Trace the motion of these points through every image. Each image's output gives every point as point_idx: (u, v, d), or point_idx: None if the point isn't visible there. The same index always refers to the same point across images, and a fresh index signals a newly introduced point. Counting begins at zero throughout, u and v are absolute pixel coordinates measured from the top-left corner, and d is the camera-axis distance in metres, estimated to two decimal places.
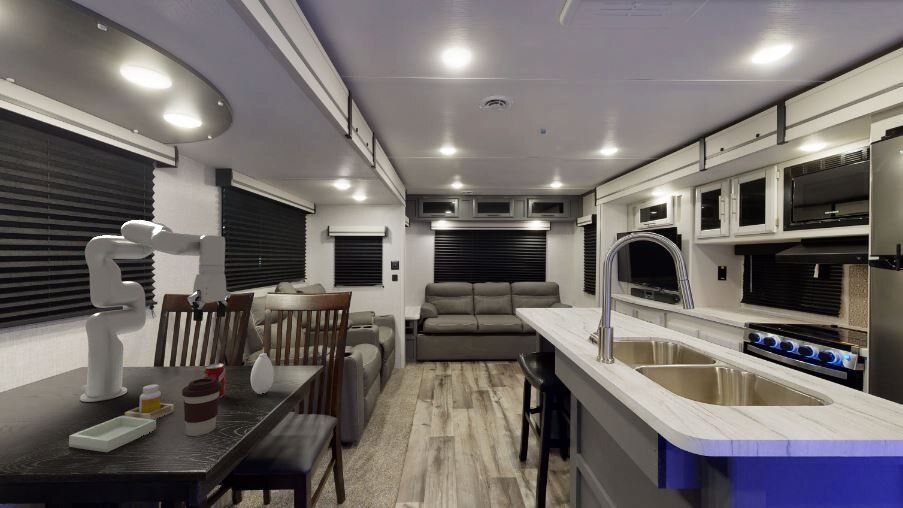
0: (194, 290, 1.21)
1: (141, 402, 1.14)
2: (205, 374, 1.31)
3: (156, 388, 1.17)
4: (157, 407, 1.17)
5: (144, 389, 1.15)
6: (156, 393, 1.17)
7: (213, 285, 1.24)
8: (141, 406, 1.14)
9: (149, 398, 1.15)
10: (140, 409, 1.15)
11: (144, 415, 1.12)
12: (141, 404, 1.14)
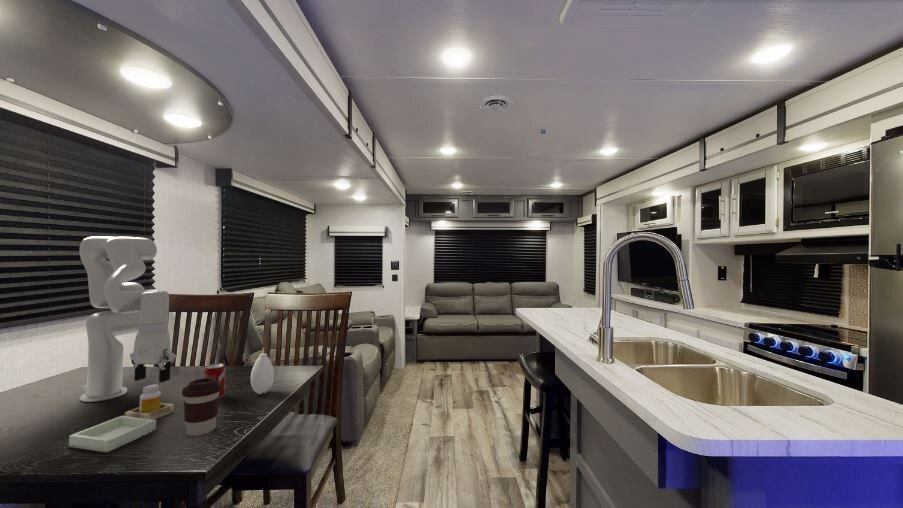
0: (160, 350, 1.15)
1: (141, 402, 1.14)
2: (205, 374, 1.31)
3: (156, 388, 1.17)
4: (157, 407, 1.17)
5: (144, 389, 1.15)
6: (156, 393, 1.17)
7: None
8: (141, 406, 1.14)
9: (149, 398, 1.15)
10: (140, 409, 1.15)
11: (144, 415, 1.12)
12: (141, 404, 1.14)
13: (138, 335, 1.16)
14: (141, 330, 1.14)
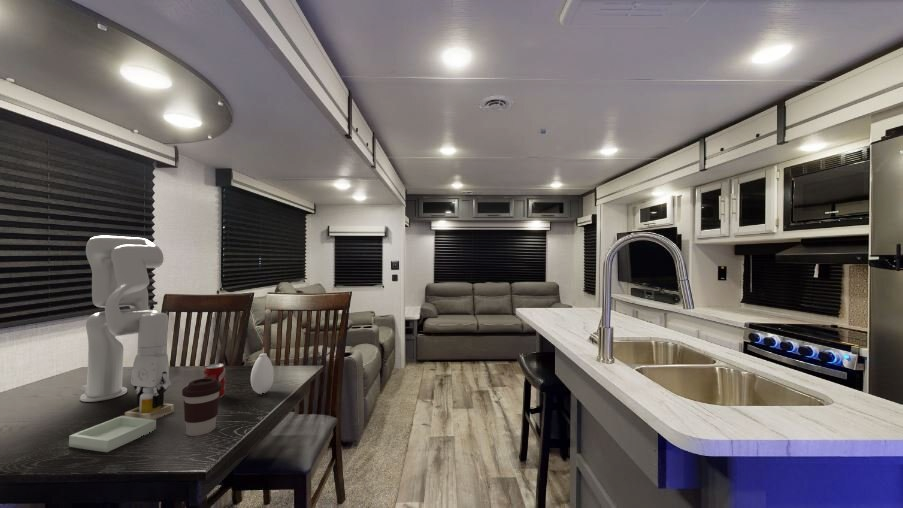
0: (158, 374, 1.15)
1: (141, 402, 1.14)
2: (205, 374, 1.31)
3: None
4: (157, 407, 1.17)
5: (144, 389, 1.15)
6: None
7: None
8: (141, 406, 1.14)
9: (149, 398, 1.15)
10: (140, 409, 1.15)
11: (144, 415, 1.12)
12: (141, 404, 1.14)
13: (137, 358, 1.15)
14: (140, 353, 1.14)
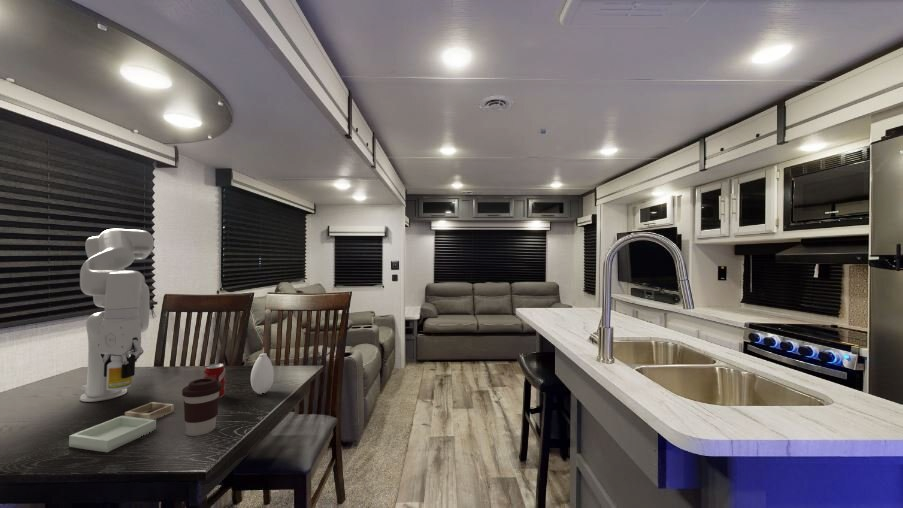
0: (128, 339, 1.01)
1: (108, 371, 1.01)
2: (205, 374, 1.31)
3: None
4: (127, 377, 1.03)
5: (112, 357, 1.02)
6: None
7: None
8: (108, 376, 1.01)
9: (118, 366, 1.01)
10: (107, 379, 1.01)
11: (144, 415, 1.12)
12: (108, 373, 1.01)
13: (103, 321, 1.02)
14: (107, 316, 1.00)
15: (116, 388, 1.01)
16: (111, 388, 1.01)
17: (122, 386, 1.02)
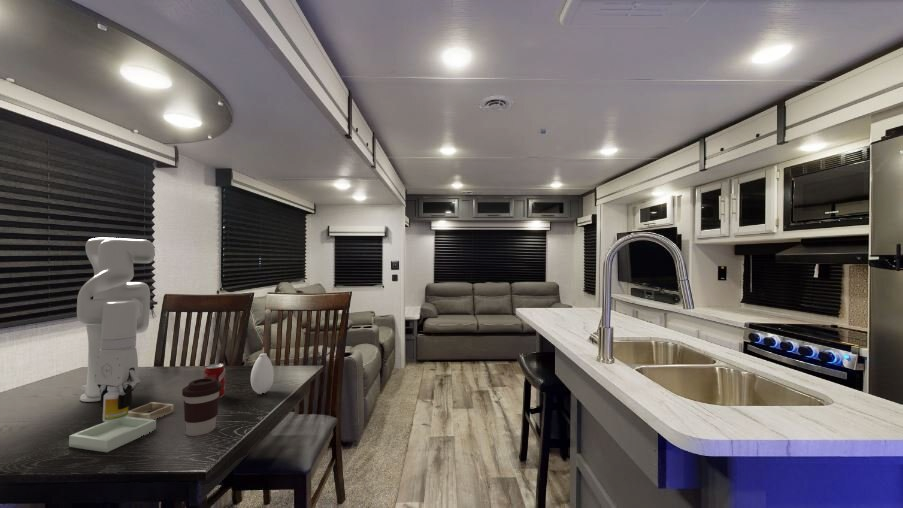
0: (125, 370, 1.00)
1: (105, 402, 1.00)
2: (205, 374, 1.31)
3: None
4: (123, 408, 1.02)
5: (108, 387, 1.01)
6: None
7: None
8: (105, 407, 1.00)
9: (114, 397, 1.00)
10: (104, 410, 1.00)
11: (144, 415, 1.12)
12: (105, 405, 1.00)
13: (100, 352, 1.01)
14: (103, 346, 0.99)
15: (112, 419, 1.00)
16: (107, 419, 1.00)
17: (118, 417, 1.01)
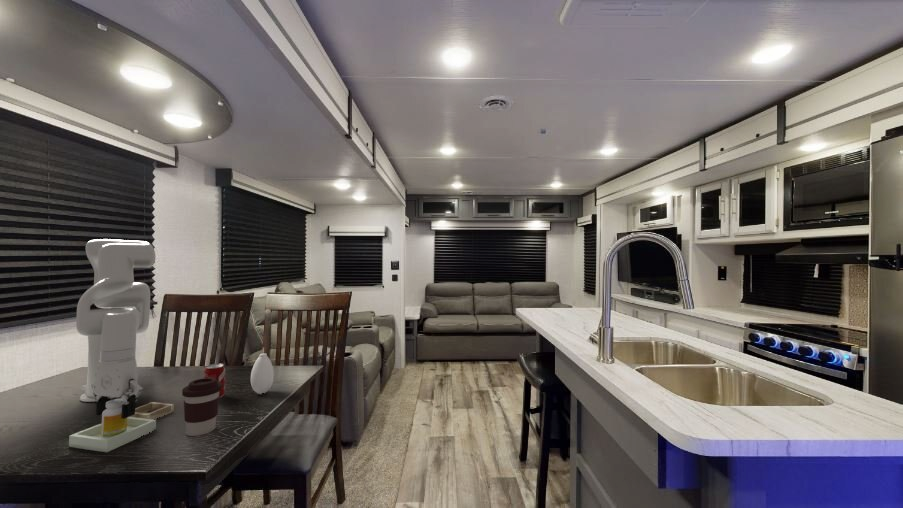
0: (124, 381, 1.00)
1: (103, 419, 1.00)
2: (205, 374, 1.31)
3: (121, 403, 1.03)
4: (122, 424, 1.02)
5: (107, 404, 1.01)
6: (121, 409, 1.02)
7: None
8: (103, 424, 1.00)
9: (113, 414, 1.00)
10: (102, 427, 1.00)
11: (144, 415, 1.12)
12: (103, 422, 1.00)
13: (100, 363, 1.01)
14: (102, 358, 0.99)
15: (111, 436, 1.00)
16: (106, 436, 1.00)
17: (117, 434, 1.01)
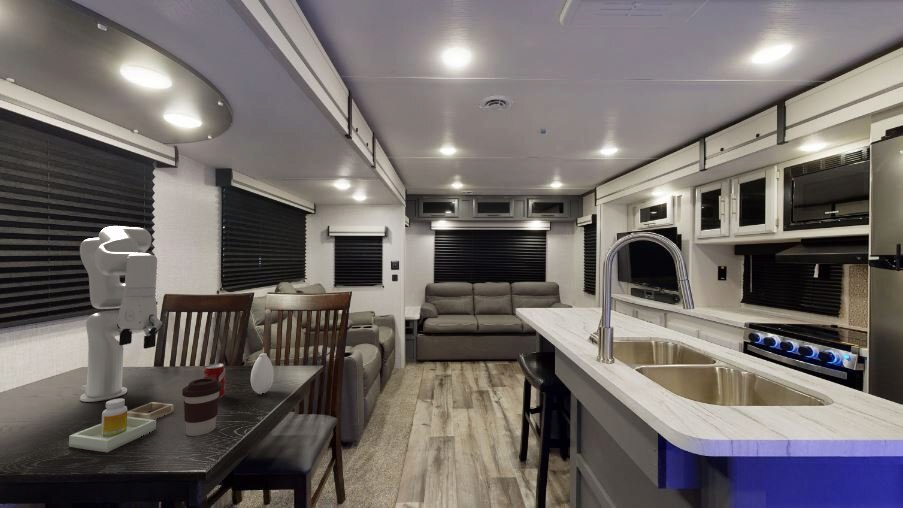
0: (145, 316, 1.11)
1: (103, 419, 1.00)
2: (205, 374, 1.31)
3: (121, 403, 1.03)
4: (122, 424, 1.02)
5: (107, 404, 1.01)
6: (121, 409, 1.02)
7: None
8: (103, 424, 1.00)
9: (113, 414, 1.00)
10: (102, 427, 1.00)
11: (144, 415, 1.12)
12: (103, 422, 1.00)
13: (124, 299, 1.12)
14: (126, 294, 1.10)
15: (111, 436, 1.00)
16: (106, 436, 1.00)
17: (117, 434, 1.01)
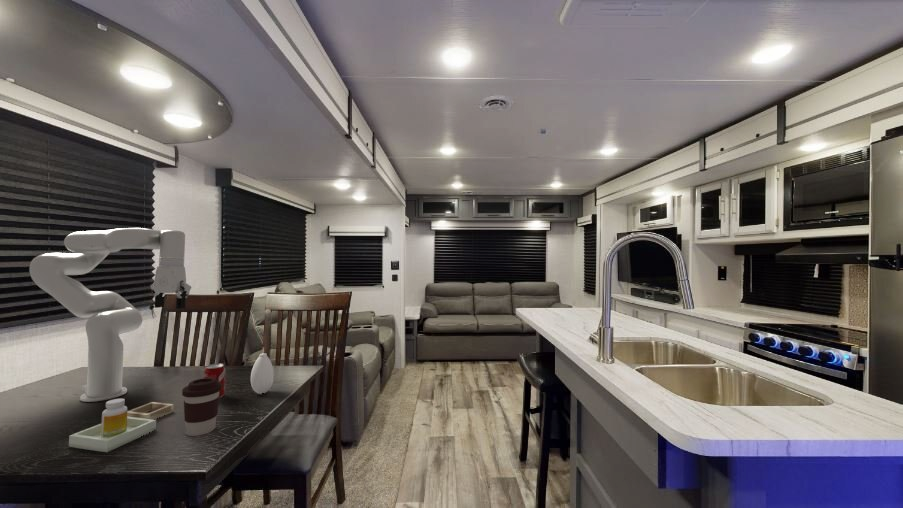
0: (177, 281, 1.32)
1: (103, 419, 1.00)
2: (205, 374, 1.31)
3: (121, 403, 1.03)
4: (122, 424, 1.02)
5: (107, 404, 1.01)
6: (121, 409, 1.02)
7: None
8: (103, 424, 1.00)
9: (113, 414, 1.00)
10: (102, 427, 1.00)
11: (144, 415, 1.12)
12: (103, 422, 1.00)
13: (158, 268, 1.33)
14: (161, 263, 1.31)
15: (111, 436, 1.00)
16: (106, 436, 1.00)
17: (117, 434, 1.01)
